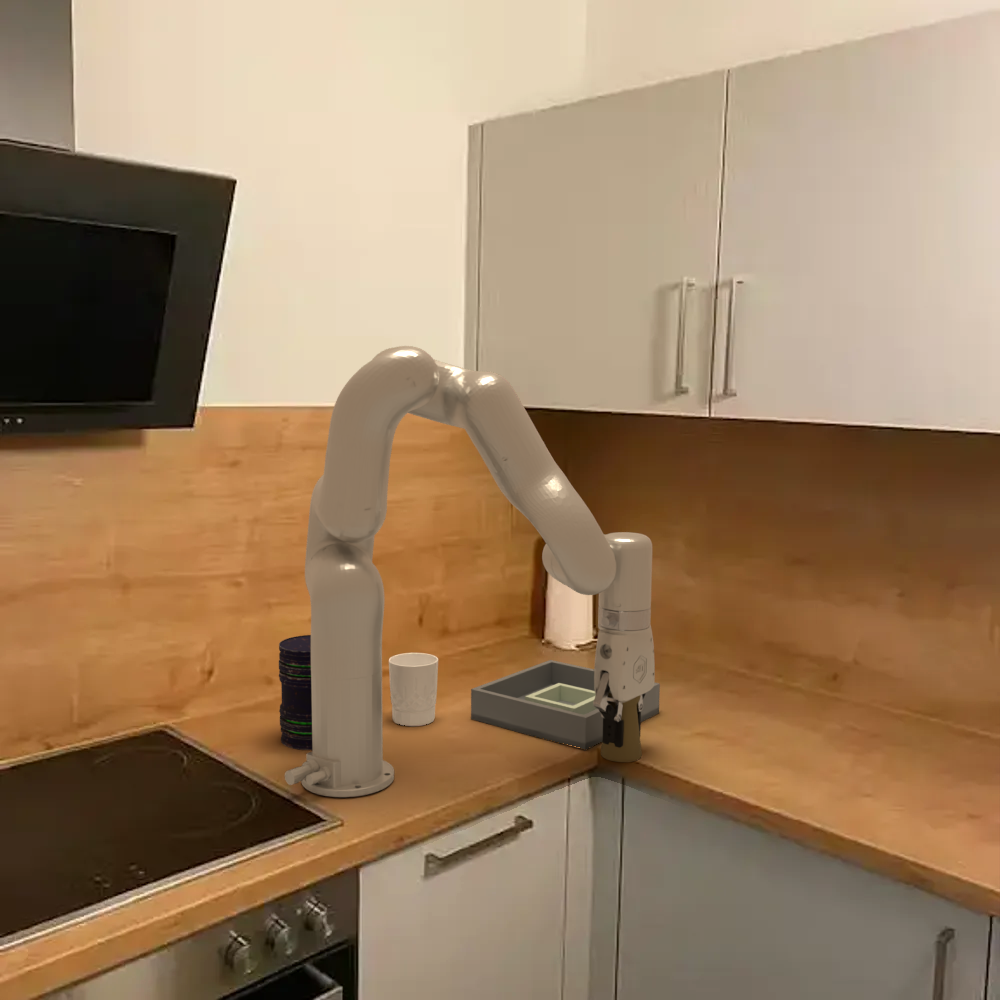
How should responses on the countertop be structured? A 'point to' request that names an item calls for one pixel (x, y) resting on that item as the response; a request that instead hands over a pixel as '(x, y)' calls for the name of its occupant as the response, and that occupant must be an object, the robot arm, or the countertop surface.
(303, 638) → the storage jar
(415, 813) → the countertop surface
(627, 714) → the brown pepper mill
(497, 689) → the open box
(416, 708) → the white cup
